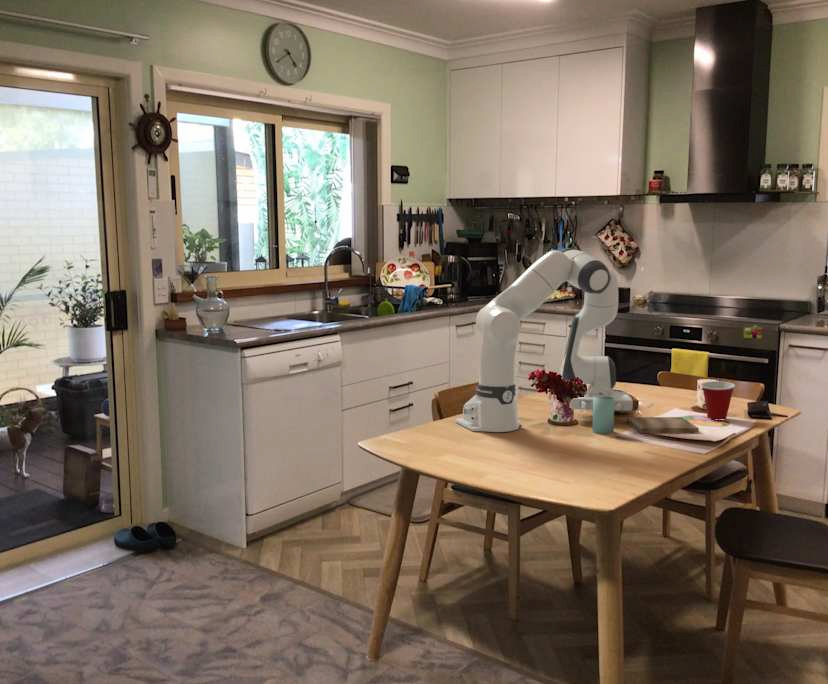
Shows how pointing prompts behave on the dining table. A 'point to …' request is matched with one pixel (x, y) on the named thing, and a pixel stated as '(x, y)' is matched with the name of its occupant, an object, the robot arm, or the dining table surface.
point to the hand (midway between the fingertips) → (601, 407)
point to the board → (662, 425)
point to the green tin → (603, 414)
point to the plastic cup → (717, 398)
